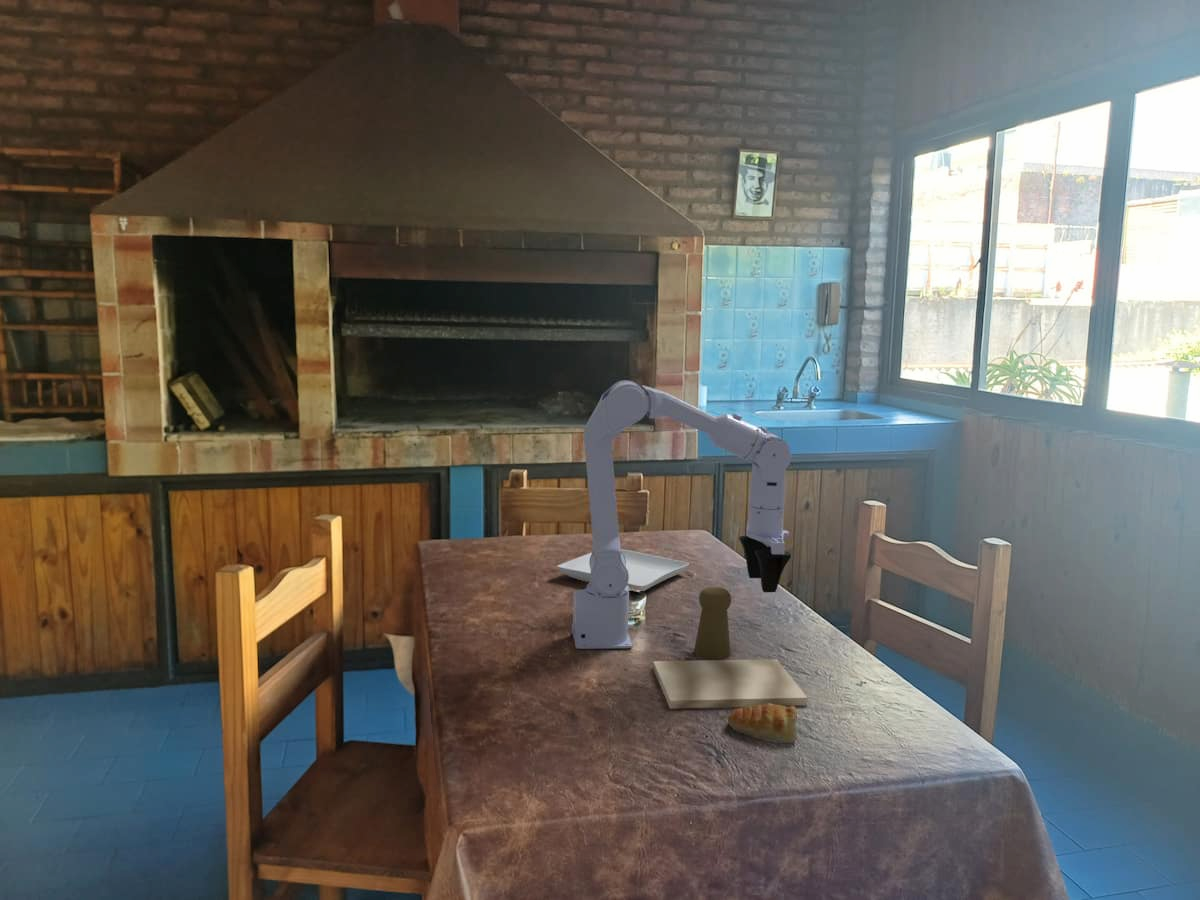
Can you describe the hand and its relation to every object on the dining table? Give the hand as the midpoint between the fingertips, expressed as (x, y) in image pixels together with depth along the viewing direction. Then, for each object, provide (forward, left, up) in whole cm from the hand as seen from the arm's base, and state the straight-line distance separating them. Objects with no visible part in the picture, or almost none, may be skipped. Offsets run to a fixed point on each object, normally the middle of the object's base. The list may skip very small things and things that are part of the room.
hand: (762, 584), depth 145 cm
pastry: (-8, -31, -11) cm, 34 cm away
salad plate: (-18, +38, -11) cm, 44 cm away
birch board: (-10, -17, -10) cm, 22 cm away
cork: (-9, -4, -11) cm, 14 cm away
